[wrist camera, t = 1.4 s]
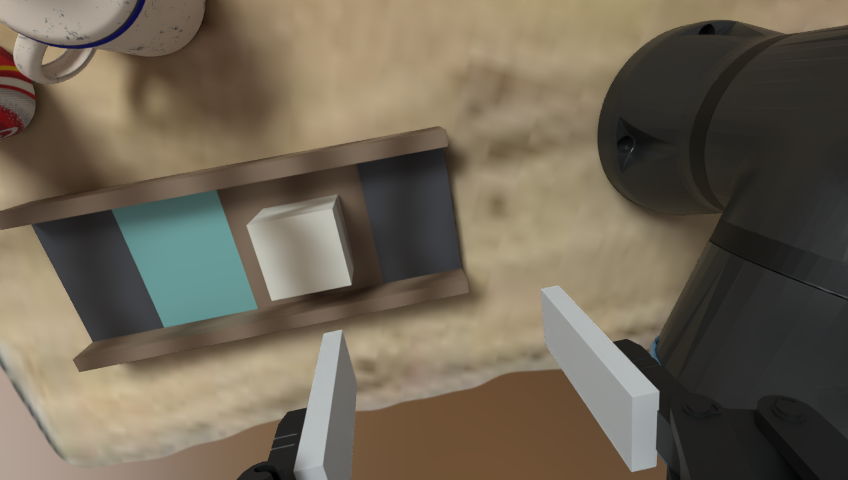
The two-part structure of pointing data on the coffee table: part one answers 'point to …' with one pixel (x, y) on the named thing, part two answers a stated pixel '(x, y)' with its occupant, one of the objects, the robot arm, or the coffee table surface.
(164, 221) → the pad
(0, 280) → the coffee table surface
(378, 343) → the coffee table surface
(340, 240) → the birch block
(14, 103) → the soda can
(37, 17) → the teacup with lid
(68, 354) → the coffee table surface
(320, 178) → the channel
